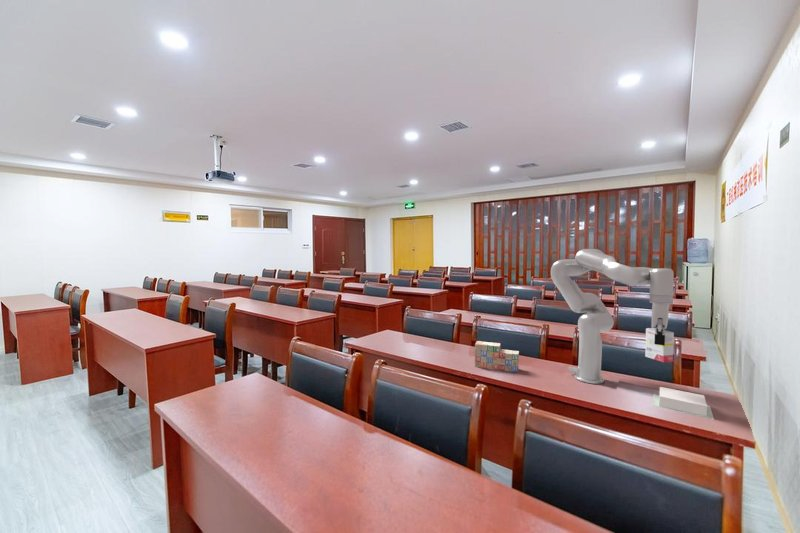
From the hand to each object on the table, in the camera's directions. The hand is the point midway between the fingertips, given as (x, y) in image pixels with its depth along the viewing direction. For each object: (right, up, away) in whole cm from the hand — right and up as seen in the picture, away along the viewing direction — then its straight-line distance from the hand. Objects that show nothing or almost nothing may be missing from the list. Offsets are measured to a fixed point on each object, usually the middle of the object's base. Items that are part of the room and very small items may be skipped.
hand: (659, 342), depth 142 cm
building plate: (+6, -25, -3) cm, 26 cm away
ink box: (0, -7, 0) cm, 7 cm away
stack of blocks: (-54, -22, +41) cm, 71 cm away
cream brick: (+6, -24, -3) cm, 25 cm away
